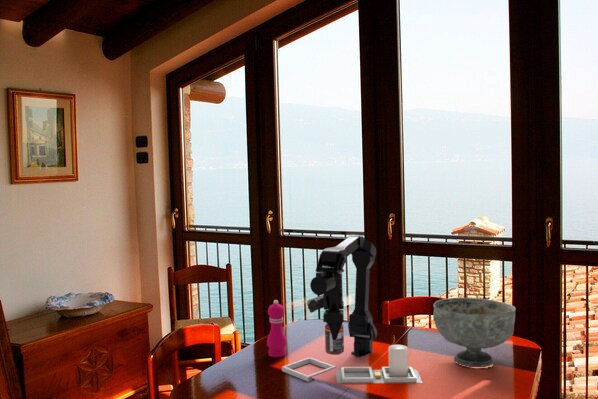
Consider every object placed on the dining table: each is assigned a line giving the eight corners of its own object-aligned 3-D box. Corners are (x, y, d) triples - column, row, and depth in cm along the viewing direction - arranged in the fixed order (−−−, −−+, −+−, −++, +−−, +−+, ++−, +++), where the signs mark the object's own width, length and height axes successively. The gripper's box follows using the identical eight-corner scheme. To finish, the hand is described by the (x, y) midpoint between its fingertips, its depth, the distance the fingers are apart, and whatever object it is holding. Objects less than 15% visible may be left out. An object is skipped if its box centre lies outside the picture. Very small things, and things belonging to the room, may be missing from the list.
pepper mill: (284, 358, 189) (283, 302, 188) (264, 357, 191) (263, 302, 190) (289, 351, 196) (287, 297, 195) (270, 350, 198) (268, 297, 197)
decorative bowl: (427, 369, 174) (429, 308, 173) (435, 346, 198) (437, 292, 197) (515, 381, 165) (517, 317, 164) (512, 356, 189) (514, 300, 188)
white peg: (396, 371, 172) (396, 343, 171) (412, 375, 167) (411, 347, 167) (385, 376, 168) (384, 347, 167) (400, 381, 163) (400, 352, 163)
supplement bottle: (324, 349, 174) (323, 315, 174) (342, 349, 174) (341, 314, 174) (326, 355, 168) (325, 320, 168) (345, 355, 168) (344, 319, 168)
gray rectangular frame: (416, 373, 173) (416, 365, 172) (422, 386, 162) (422, 379, 161) (336, 373, 174) (335, 366, 174) (336, 387, 163) (336, 379, 163)
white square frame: (309, 361, 186) (309, 357, 185) (335, 370, 176) (335, 366, 176) (282, 371, 177) (281, 366, 177) (307, 381, 168) (307, 376, 168)
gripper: (310, 282, 180) (311, 328, 181) (306, 295, 162) (307, 346, 162) (343, 282, 179) (344, 327, 180) (343, 295, 161) (344, 346, 162)
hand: (334, 336), depth 171 cm, fingers closed on supplement bottle, 6 cm apart
